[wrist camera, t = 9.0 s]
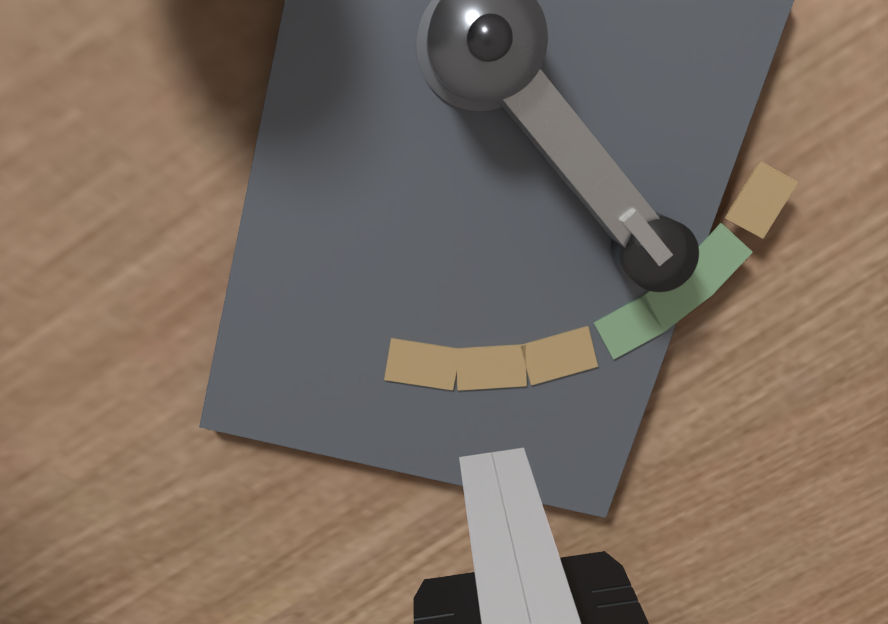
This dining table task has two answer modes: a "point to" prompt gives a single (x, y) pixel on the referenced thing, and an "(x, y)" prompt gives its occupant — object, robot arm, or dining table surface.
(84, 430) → the dining table surface
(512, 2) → the needle lever
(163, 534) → the dining table surface
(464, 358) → the dial board
